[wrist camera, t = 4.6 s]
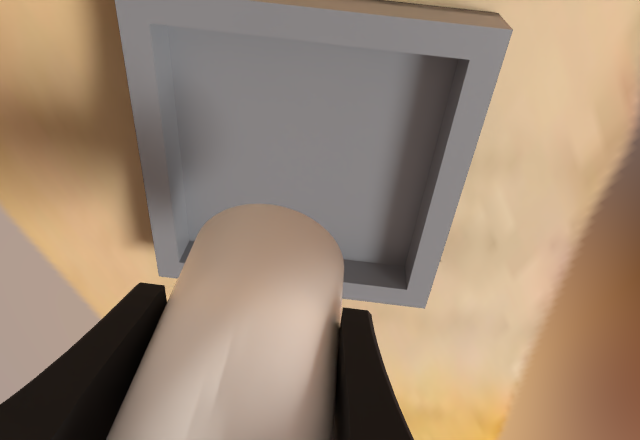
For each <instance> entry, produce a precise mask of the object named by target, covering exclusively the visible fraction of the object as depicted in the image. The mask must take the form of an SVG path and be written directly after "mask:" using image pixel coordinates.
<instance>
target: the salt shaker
mask: <svg viewBox="0 0 640 440" xmlns="http://www.w3.org/2000/svg"><path fill="white" fill-rule="evenodd" d="M343 277H344V260H343V256H342V253H341V250H340V248H339V246H338V244H337V243H336V241H335V240H334V238H333V237H332V236H331V235H330V233H329V232H328V231H327V230H326V229H325V228H324V227H322V226H321V225H320V224H319V223H317V222H316V221H314V220H313V219H311V218H310V217H308V216H306V215H304V214H302V213H300V212H297V211H295V210H292V209H289V208H285V207H282V206H276V205H271V204H246V205H240V206H236V207H232V208H229V209H227V210H224V211H222V212H220V213H218V214H216V215H215V216H213V217H212V218H211V219H210V220H208V221H207V222H206V223H205V224H204V226H203V227H202V228H201V230H200V231H199V233H198V235H197V237H196V239H195V241H194V244H193V246H192V248H191V250H190V253H189V255H188V257H187V259H186V262H185V264H184V266H183V268H182V271H181V273H180V275H179V277H178V280H177V282H176V284H175V286H174V288H173V291H172V293H171V295H170V297H169V300H168V302H167V304H166V306H165V309H164V311H163V313H162V315H161V318H160V320H159V322H158V324H157V327H156V329H155V331H154V333H153V335H152V338H151V340H150V342H149V344H148V347H147V349H146V351H145V353H144V356H143V358H142V360H141V362H140V365H139V367H138V369H137V371H136V374H135V376H134V378H133V380H132V382H131V385H130V387H129V389H128V391H127V394H126V396H125V398H124V400H123V403H122V405H121V407H120V409H119V412H118V414H117V416H116V418H115V421H114V423H113V425H112V427H111V429H110V432H109V434H108V436H107V438H106V440H333V428H334V413H335V398H336V383H337V361H338V346H339V331H340V322H341V307H342V292H343Z"/></svg>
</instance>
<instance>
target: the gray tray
mask: <svg viewBox="0 0 640 440" xmlns="http://www.w3.org/2000/svg"><path fill="white" fill-rule="evenodd" d="M115 5H116V12H117V18H118V24H119V30H120V37H121V43H122V49H123V55H124V61H125V68H126V74H127V80H128V86H129V93H130V99H131V105H132V111H133V117H134V124H135V130H136V136H137V142H138V149H139V155H140V161H141V167H142V173H143V180H144V186H145V192H146V198H147V205H148V211H149V217H150V223H151V229H152V236H153V242H154V248H155V254H156V261H157V267H158V273H159V276H161V277H169V278H178V277H179V275H180V273H181V271H182V268H183V266H184V264H185V262H186V259H187V257H188V255H189V253H190V250H191V248H192V246H193V244H194V241H195V239H196V237H197V235H198V233H199V231H200V230H201V228H202V227H203V226H204V224H205V223H206V222H207V221H208V220H210V219H211V218H212V217H213V216H215V215H216V214H218V213H220V212H222V211H224V210H227V209H229V208H232V207H236V206H240V205H246V204H271V205H276V206H282V207H285V208H289V209H292V210H295V211H297V212H300V213H302V214H304V215H306V216H308V217H310V218H311V219H313V220H314V221H316V222H317V223H319V224H320V225H321V226H322V227H324V228H325V229H326V230H327V231H328V232H329V233H330V235H331V236H332V237H333V238H334V240H335V241H336V243H337V244H338V246H339V248H340V250H341V253H342V256H343V260H344V277H343V292H342V299H351V300H359V301H367V302H375V303H384V304H392V305H400V306H408V307H417V308H425V307H426V304H427V300H428V297H429V294H430V291H431V288H432V285H433V281H434V278H435V275H436V272H437V269H438V266H439V262H440V259H441V256H442V253H443V250H444V246H445V243H446V240H447V237H448V234H449V231H450V227H451V224H452V221H453V218H454V215H455V212H456V208H457V205H458V202H459V199H460V196H461V193H462V189H463V186H464V183H465V180H466V177H467V174H468V170H469V167H470V164H471V161H472V158H473V155H474V151H475V148H476V145H477V142H478V139H479V136H480V132H481V129H482V126H483V123H484V120H485V117H486V113H487V110H488V107H489V104H490V101H491V98H492V94H493V91H494V88H495V85H496V82H497V79H498V75H499V72H500V69H501V66H502V63H503V60H504V56H505V53H506V50H507V47H508V44H509V41H510V37H511V34H512V31H513V29H512V28H511V27H510V26H509V25H508V24H507V23H506V21H505V20H504V19H503V18H502V17H501V16H500V15H499V13H492V12H483V11H474V10H465V9H456V8H447V7H438V6H429V5H420V4H411V3H402V2H393V1H384V0H115Z"/></svg>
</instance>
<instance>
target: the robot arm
mask: <svg viewBox="0 0 640 440" xmlns="http://www.w3.org/2000/svg"><path fill="white" fill-rule="evenodd" d="M166 304H167V300H166V293H165V286H164V285H156V284H148V283H139V284H138V285H136V286H135V287H134V288H133V289H132V290H131V291H130V292H129V293H128V294H127V295H126V296H125V297H124V298H123V299H122V300H121V301H120V302H119V303H118V304H117V305H116V306H115V307H114V308H113V309H112V310H111V311H110V312H109V313H108V314H107V315H106V316H105V317H104V318H103V319H101V320H100V321H99V322H98V323H97V324H96V325H95V326H94V327H93V328H92V329H91V330H90V331H89V332H88V333H86V334H85V335H84V336H83V337H82V338H81V339H80V340H79V341H78V342H77V343H76V344H74V345H73V346H72V347H71V348H70V349H69V350H68V351H67V352H65V353H64V354H63V355H62V356H61V357H60V358H58V359H57V360H56V361H55V362H54V363H52V364H51V365H50V366H49V367H48V368H46V369H45V370H44V371H43V372H42V373H40V374H39V375H38V376H37V377H36V378H34V379H33V380H32V381H31V382H30V383H28V384H27V385H26V386H24V387H23V388H22V389H20V391H18V392H17V393H15V394H14V395H13V396H11V397H10V398H9V399H7V400H6V401H5V402H3V403H2V404H0V440H106V438H107V436H108V434H109V432H110V429H111V427H112V425H113V423H114V421H115V418H116V416H117V414H118V412H119V409H120V407H121V405H122V403H123V400H124V398H125V396H126V394H127V391H128V389H129V387H130V385H131V382H132V380H133V378H134V376H135V374H136V371H137V369H138V367H139V365H140V362H141V360H142V358H143V356H144V353H145V351H146V349H147V347H148V344H149V342H150V340H151V338H152V335H153V333H154V331H155V329H156V327H157V324H158V322H159V320H160V318H161V315H162V313H163V311H164V309H165V306H166ZM333 440H414V439H413V437H412V434H411V432H410V430H409V428H408V426H407V423H406V421H405V419H404V416H403V414H402V412H401V409H400V407H399V404H398V402H397V399H396V397H395V394H394V391H393V389H392V386H391V383H390V381H389V378H388V375H387V372H386V369H385V366H384V363H383V360H382V357H381V354H380V350H379V347H378V343H377V340H376V336H375V332H374V327H373V322H372V316H371V314H370V313H369V311H367V310H359V309H351V308H343V311H342V317H341V323H340V331H339V346H338V361H337V383H336V398H335V413H334V428H333Z"/></svg>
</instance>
